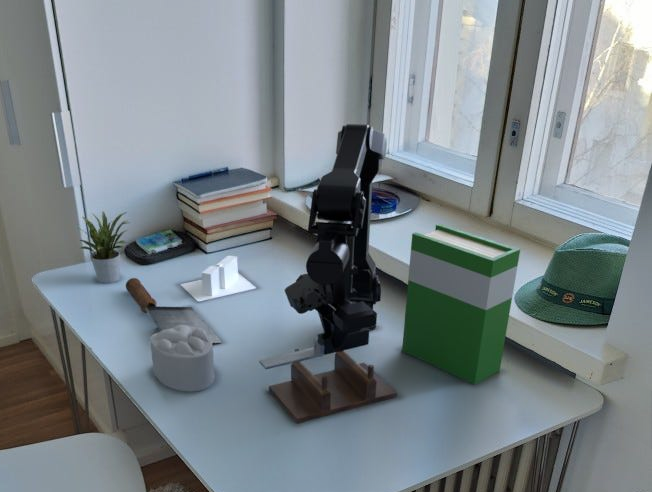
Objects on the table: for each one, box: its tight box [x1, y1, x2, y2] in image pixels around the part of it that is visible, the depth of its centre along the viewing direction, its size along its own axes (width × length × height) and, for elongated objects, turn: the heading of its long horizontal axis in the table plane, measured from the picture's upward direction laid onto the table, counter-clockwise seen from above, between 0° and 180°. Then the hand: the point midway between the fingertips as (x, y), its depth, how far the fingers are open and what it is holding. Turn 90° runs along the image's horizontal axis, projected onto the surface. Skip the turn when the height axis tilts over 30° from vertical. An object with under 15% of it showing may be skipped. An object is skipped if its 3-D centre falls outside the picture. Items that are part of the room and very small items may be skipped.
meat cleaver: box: [125, 277, 223, 344], centre depth 169 cm, size 34×11×4 cm, turn 23°
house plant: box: [74, 211, 130, 284], centre depth 184 cm, size 14×14×16 cm
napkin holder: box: [180, 255, 257, 302], centre depth 181 cm, size 15×11×6 cm
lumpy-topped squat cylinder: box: [149, 325, 215, 392], centre depth 146 cm, size 10×13×9 cm
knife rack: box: [268, 348, 398, 424], centre depth 139 cm, size 20×12×8 cm, turn 112°
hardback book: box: [401, 223, 521, 385], centre depth 143 cm, size 18×7×24 cm, turn 38°
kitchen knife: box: [258, 328, 370, 370], centre depth 134 cm, size 20×3×3 cm, turn 112°
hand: (333, 344), depth 136 cm, fingers closed on kitchen knife, 2 cm apart
